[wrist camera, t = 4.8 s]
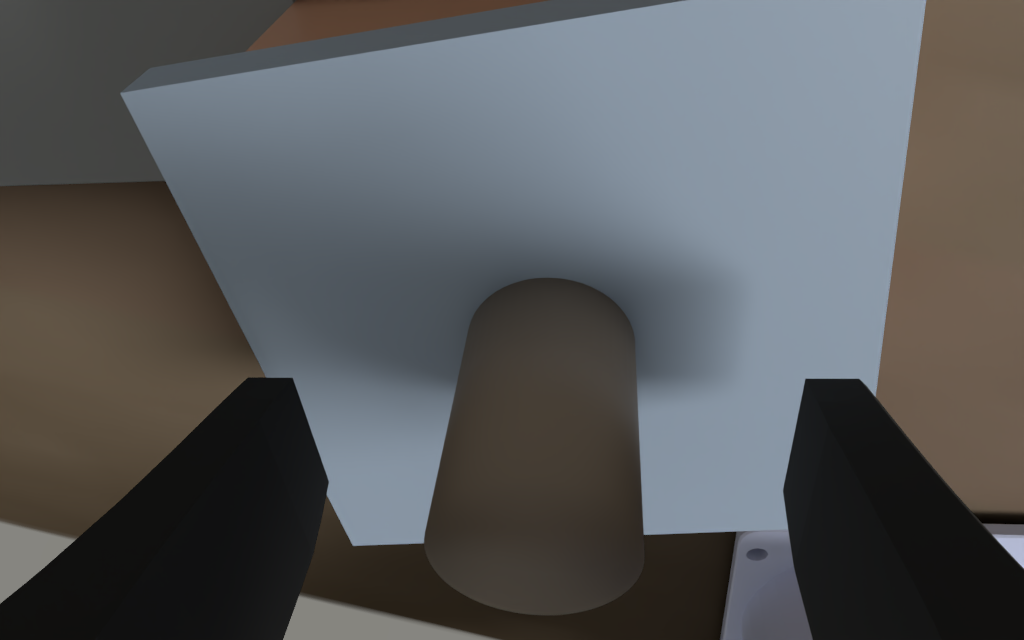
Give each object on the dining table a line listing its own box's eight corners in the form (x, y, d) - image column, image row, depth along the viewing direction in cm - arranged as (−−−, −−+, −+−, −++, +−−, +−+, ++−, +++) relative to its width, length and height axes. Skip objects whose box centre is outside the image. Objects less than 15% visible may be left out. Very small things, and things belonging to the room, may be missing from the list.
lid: (847, 489, 14) (924, 745, 10) (363, 511, 15) (296, 738, 12) (907, -61, 8) (1109, 108, 5) (150, 67, 10) (-78, 257, 7)
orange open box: (759, 361, 17) (789, 492, 14) (392, 361, 18) (354, 484, 15) (819, -41, 12) (885, 42, 9) (304, -9, 13) (223, 74, 10)
